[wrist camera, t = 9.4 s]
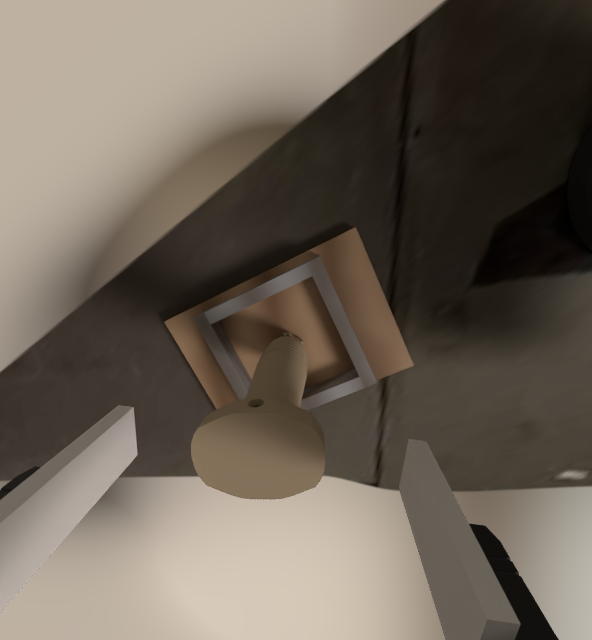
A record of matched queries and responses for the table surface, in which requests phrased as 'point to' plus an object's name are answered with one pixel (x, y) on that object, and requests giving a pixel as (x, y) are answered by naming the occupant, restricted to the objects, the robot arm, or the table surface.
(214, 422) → the handle
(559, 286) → the table surface
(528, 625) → the robot arm
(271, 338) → the collar board
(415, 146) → the table surface
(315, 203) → the table surface
